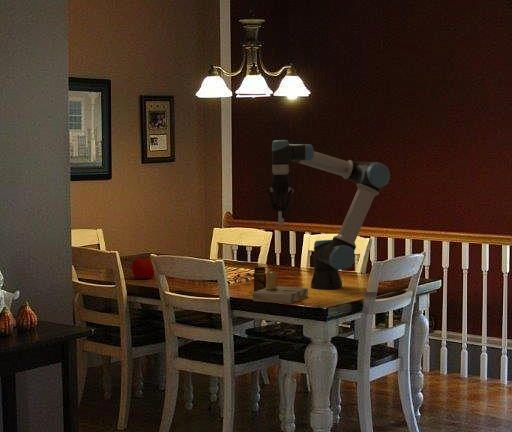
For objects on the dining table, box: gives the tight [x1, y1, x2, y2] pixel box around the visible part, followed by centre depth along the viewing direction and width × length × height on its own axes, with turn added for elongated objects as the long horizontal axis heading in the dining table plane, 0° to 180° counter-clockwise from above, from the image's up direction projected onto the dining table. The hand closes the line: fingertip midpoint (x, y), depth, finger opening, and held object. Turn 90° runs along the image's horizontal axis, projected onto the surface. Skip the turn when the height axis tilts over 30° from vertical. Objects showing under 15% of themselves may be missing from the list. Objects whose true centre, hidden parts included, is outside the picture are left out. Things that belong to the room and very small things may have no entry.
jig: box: [252, 285, 309, 305], centre depth 448 cm, size 20×18×4 cm
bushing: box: [266, 271, 278, 291], centre depth 449 cm, size 4×4×12 cm
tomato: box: [131, 256, 155, 280], centre depth 519 cm, size 12×13×12 cm
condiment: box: [250, 266, 267, 292], centre depth 468 cm, size 7×8×12 cm
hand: (281, 225), depth 456 cm, fingers closed
